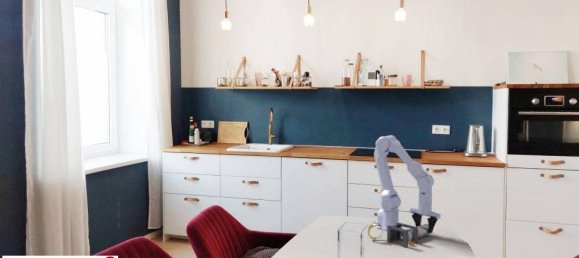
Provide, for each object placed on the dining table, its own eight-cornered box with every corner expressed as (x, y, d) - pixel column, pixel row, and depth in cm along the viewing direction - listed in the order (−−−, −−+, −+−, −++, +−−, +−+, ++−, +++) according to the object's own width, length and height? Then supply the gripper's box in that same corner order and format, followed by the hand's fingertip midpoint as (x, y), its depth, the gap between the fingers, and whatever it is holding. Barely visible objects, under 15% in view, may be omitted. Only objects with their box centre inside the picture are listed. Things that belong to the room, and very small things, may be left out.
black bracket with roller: (386, 242, 205) (387, 226, 205) (398, 238, 211) (399, 222, 210) (407, 247, 197) (407, 231, 197) (418, 243, 203) (419, 227, 203)
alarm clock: (368, 240, 206) (368, 222, 206) (366, 238, 210) (367, 220, 209) (384, 241, 207) (384, 222, 206) (382, 238, 210) (383, 220, 209)
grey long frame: (410, 243, 204) (412, 232, 203) (400, 239, 208) (402, 228, 207) (430, 236, 215) (432, 226, 214) (421, 232, 218) (423, 222, 217)
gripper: (444, 203, 212) (443, 233, 213) (416, 197, 223) (415, 226, 224) (435, 205, 207) (435, 236, 208) (407, 200, 218) (406, 229, 219)
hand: (424, 231), depth 215 cm, fingers open, 6 cm apart
